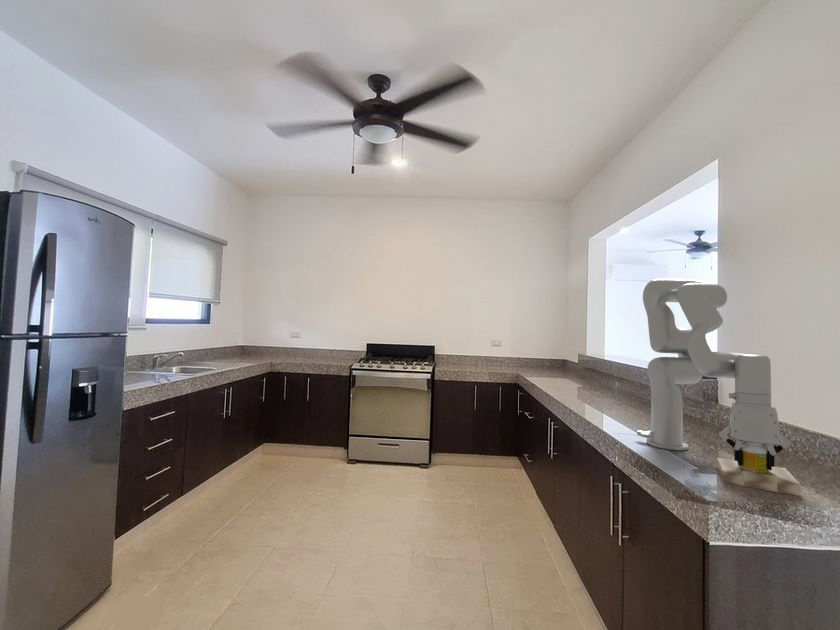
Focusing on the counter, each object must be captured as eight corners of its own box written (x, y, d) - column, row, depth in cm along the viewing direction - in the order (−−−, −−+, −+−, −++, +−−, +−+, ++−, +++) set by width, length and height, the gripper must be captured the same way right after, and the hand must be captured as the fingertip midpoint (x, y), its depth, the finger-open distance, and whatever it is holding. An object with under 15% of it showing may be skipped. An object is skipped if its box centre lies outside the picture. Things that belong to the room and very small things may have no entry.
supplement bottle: (760, 479, 102) (759, 442, 102) (736, 472, 107) (736, 437, 107) (771, 477, 104) (771, 440, 104) (748, 470, 109) (747, 435, 109)
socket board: (723, 482, 103) (723, 471, 103) (717, 468, 115) (717, 457, 115) (800, 496, 95) (800, 483, 95) (785, 479, 107) (785, 468, 107)
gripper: (715, 397, 108) (716, 464, 107) (799, 405, 99) (801, 477, 98) (712, 394, 114) (713, 457, 113) (791, 401, 105) (792, 469, 104)
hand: (753, 465), depth 106 cm, fingers closed on supplement bottle, 5 cm apart
